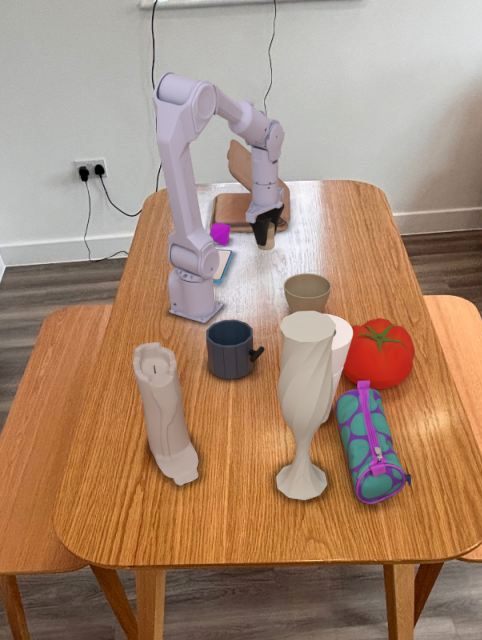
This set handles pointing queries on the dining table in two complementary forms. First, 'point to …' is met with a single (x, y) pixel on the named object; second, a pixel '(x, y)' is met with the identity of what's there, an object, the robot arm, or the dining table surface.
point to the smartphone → (222, 265)
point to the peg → (269, 239)
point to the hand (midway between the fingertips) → (265, 240)
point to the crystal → (220, 233)
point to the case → (243, 194)
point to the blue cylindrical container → (231, 349)
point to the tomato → (379, 354)
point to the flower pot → (307, 292)
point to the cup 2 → (339, 351)
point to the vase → (305, 395)
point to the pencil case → (369, 445)
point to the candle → (164, 412)
